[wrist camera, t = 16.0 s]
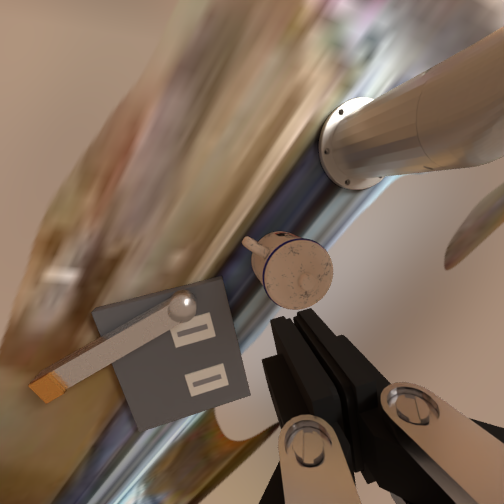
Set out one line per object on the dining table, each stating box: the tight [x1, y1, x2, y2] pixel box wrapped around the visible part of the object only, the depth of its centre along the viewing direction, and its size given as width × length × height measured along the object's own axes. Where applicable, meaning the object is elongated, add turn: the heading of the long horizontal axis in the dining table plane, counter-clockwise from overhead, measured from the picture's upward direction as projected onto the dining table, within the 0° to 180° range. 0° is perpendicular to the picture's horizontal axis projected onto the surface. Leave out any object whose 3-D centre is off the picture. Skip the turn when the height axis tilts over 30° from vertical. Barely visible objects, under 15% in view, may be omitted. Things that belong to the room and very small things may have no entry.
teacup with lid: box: [242, 231, 333, 310], centre depth 33 cm, size 12×9×12 cm
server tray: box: [91, 276, 251, 432], centre depth 38 cm, size 18×21×2 cm
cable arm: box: [28, 290, 197, 404], centre depth 33 cm, size 22×4×3 cm, turn 118°
